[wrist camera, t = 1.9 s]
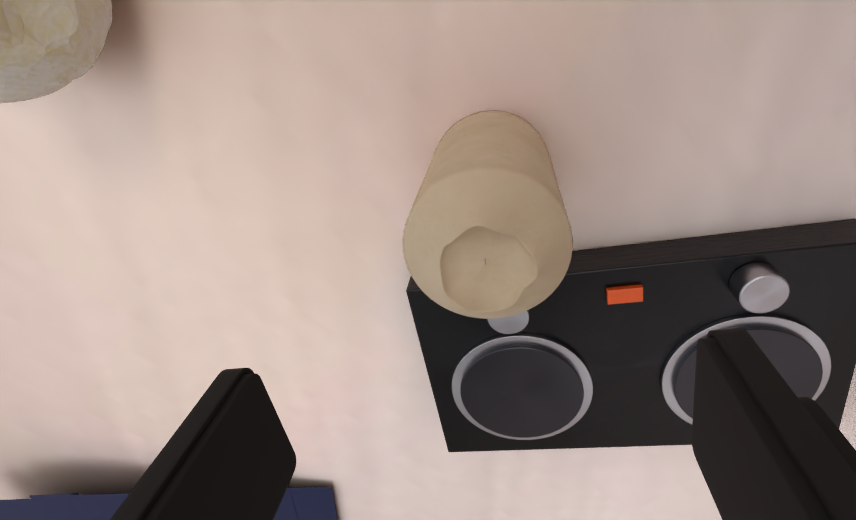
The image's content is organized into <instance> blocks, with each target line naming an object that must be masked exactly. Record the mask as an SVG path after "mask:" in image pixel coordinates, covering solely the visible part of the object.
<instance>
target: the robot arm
mask: <svg viewBox="0 0 856 520" xmlns="http://www.w3.org/2000/svg"><path fill="white" fill-rule="evenodd" d="M692 446H693V451H694V454H695V457H696V460H697V462H698V464H699V467H700V469H701V471H702V474H703V476H704V478H705V480H706V483H707V485H708V487H709V490H710V492H711V494H712V497H713V499H714V501H715V503H716V506H717V508H718V510H719V513H720V515H721V517H722V520H856V450H855V449H854V448H853V447H852V445H851V444H850V443H849V442H848V440H847V439H846V438H845V437H844V435H843V434H842V433H841V432H840V430H839V429H838V428H837V427H836V425H835V424H834V423H833V421H832V420H831V419H830V418H829V416H828V415H827V414H826V413H825V411H824V410H823V409H822V408H821V407H820V406H819V405H818V404H817V403H816V402H815V401H814V400H813V399H811V398H809V397H797V396H796V395H795V393H794V392H793V391H792V389H791V388H790V387H789V385H788V384H787V383H786V382H785V380H784V379H783V378H782V376H781V375H780V374H779V372H778V371H777V370H776V368H775V367H774V366H773V364H772V363H771V362H770V360H769V359H768V358H767V357H766V355H765V354H764V353H763V351H762V350H761V349H760V347H759V346H758V345H757V343H756V342H755V341H754V339H753V338H752V337H751V335H750V334H749V333H748V332H747V331H746V330H745V329H744V328H733V329H721V330H710V331H709V332H708V334H707V338H704V339H699V340H698V342H697V353H696V371H695V388H694V405H693V422H692ZM295 467H296V455H295V452H294V450H293V448H292V446H291V444H290V441H289V439H288V437H287V435H286V433H285V430H284V428H283V426H282V424H281V422H280V419H279V417H278V415H277V413H276V411H275V408H274V406H273V404H272V402H271V400H270V397H269V395H268V393H267V391H266V389H265V386H264V384H263V382H262V380H261V378H260V376H259V375H258V374H254V372H253V371H252V370H251V369H250V368H238V369H226V370H223V371H222V372H221V373H220V374H219V375H218V376H217V377H216V379H215V380H214V381H213V383H212V384H211V385H210V387H209V388H208V389H207V391H206V392H205V393H204V395H203V396H202V397H201V399H200V400H199V401H198V403H197V404H196V405H195V407H194V408H193V409H192V411H191V412H190V413H189V415H188V416H187V417H186V419H185V420H184V421H183V423H182V424H181V425H180V427H179V428H178V429H177V431H176V432H175V433H174V435H173V436H172V437H171V439H170V440H169V441H168V443H167V444H166V445H165V447H164V448H163V449H162V451H161V452H160V453H159V455H158V456H157V457H156V459H155V460H154V461H153V463H152V464H151V465H150V467H149V468H148V469H147V471H146V472H145V473H144V475H143V476H142V477H141V479H140V480H139V481H138V483H137V484H136V485H135V487H134V488H133V489H132V491H131V492H130V493H129V495H128V496H127V497H126V499H125V500H124V501H123V503H122V504H121V505H120V507H119V508H118V509H117V511H116V512H115V513H114V515H113V516H112V517H111V519H110V520H273V519H274V517H275V514H276V512H277V510H278V508H279V505H280V503H281V501H282V498H283V496H284V494H285V491H286V489H287V487H288V485H289V482H290V480H291V478H292V475H293V473H294V470H295Z"/></svg>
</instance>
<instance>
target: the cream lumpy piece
mask: <svg viewBox="0 0 856 520" xmlns="http://www.w3.org/2000/svg"><path fill="white" fill-rule="evenodd" d="M112 19H113V18H112V2H111V0H0V103H8V102H17V101H25V100H29V99H34V98H39V97H41V96H45V95H47V94H50V93H53V92H55V91H57V90H59V89H61V88H62V87H64V86H66V85H67V84H69V83H70V82H72V80H74V79H76V78H78V77H80V76H82V75H84V74H85V73H86V72H87V71H88V70H90V69H91V68H92V66H93V64H94V62H95V60H96V59H97V58H98V56H99V55H100V53H101V51H102V49H103V47H104V44H105V41H106V37H107V34H108V31H109V29H110V26H111V24H112Z"/></svg>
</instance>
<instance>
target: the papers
mask: <svg viewBox="0 0 856 520" xmlns="http://www.w3.org/2000/svg"><path fill="white" fill-rule="evenodd" d="M128 495H129V493H127V494H92V495H79V494H78V493H74V494H53V495H33V496H30V498H31V499H16V500H0V520H110V519H111V517H112V516H113V515H114V513H115V512H116V511H117V509H118V508H119V507H120V505H121V504H122V503H123V501H124V500H125V499H126V497H127V496H128ZM273 520H337V515H336V509H335V503H334V497H333V491H332V488H289V487H287V489H286V491H285V494H284V496H283V498H282V501H281V503H280V505H279V508H278V510H277V512H276V514H275V517H274V519H273Z"/></svg>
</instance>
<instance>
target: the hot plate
mask: <svg viewBox="0 0 856 520" xmlns="http://www.w3.org/2000/svg"><path fill="white" fill-rule="evenodd" d="M406 292H407V296H408V299H409V303H410V307H411V311H412V315H413V318H414V322H415V326H416V330H417V334H418V337H419V341H420V345H421V349H422V353H423V356H424V360H425V364H426V368H427V372H428V375H429V379H430V383H431V387H432V391H433V394H434V398H435V402H436V406H437V410H438V413H439V417H440V421H441V425H442V429H443V432H444V436H445V440H446V444H447V448H448V451H449V452H468V451H500V450H532V449H564V448H597V447H629V446H661V445H692V422H693V405H694V388H695V371H696V353H697V342H698V340H699V339H704V338H707V334H708V332H709V331H710V330H721V329H733V328H744V329H745V330H746V331H747V332H748V333H749V334H750V335H751V337H752V338H753V339H754V341H755V342H756V343H757V345H758V346H759V347H760V349H761V350H762V351H763V353H764V354H765V355H766V357H767V358H768V359H769V360H770V362H771V363H772V364H773V366H774V367H775V368H776V370H777V371H778V372H779V374H780V375H781V376H782V378H783V379H784V380H785V382H786V383H787V384H788V385H789V387H790V388H791V389H792V391H793V392H794V393H795V395H796V396H797V397H809V398H811V399H813V400H814V401H815V402H816V403H817V404H818V405H819V406H820V407H821V408H822V409H823V410H824V411H825V413H826V414H827V415H828V416H829V418H830V419H831V420H832V421H833V423H834V424H835V425H836V427H837V428H838V429H839V426H840V423H841V419H842V415H843V411H844V407H845V403H846V399H847V395H848V392H849V388H850V384H851V380H852V376H853V372H854V368H855V365H856V219H851V220H842V221H833V222H824V223H816V224H807V225H798V226H789V227H781V228H772V229H763V230H754V231H746V232H737V233H728V234H719V235H711V236H702V237H693V238H684V239H676V240H667V241H658V242H649V243H641V244H632V245H623V246H614V247H606V248H597V249H588V250H579V251H572V256H571V261H570V264H569V267H568V270H567V272H566V274H565V276H564V278H563V280H562V281H561V283H560V284H559V286H558V287H557V288H556V289H555V290H554V292H553V293H552V294H551V295H550V296H548V297H547V298H546V299H545V300H544V301H542V302H541V303H539V304H538V305H536V306H535V307H533V308H531V309H529V310H527V311H525V312H522V313H519V314H516V315H513V316H509V317H503V318H493V319H484V318H474V317H468V316H464V315H461V314H457V313H455V312H452V311H450V310H448V309H446V308H444V307H442V306H440V305H439V304H437V303H436V302H434V301H433V300H432V299H430V298H429V297H428V296H427V295H426V294H425V293H424V292H423V291H422V290H421V289H420V288H419V286H418V285H417V284H416V282H415V281H414V279H413V278H412V276H411V277H410V280H409V284H408V287H407V290H406Z"/></svg>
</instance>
